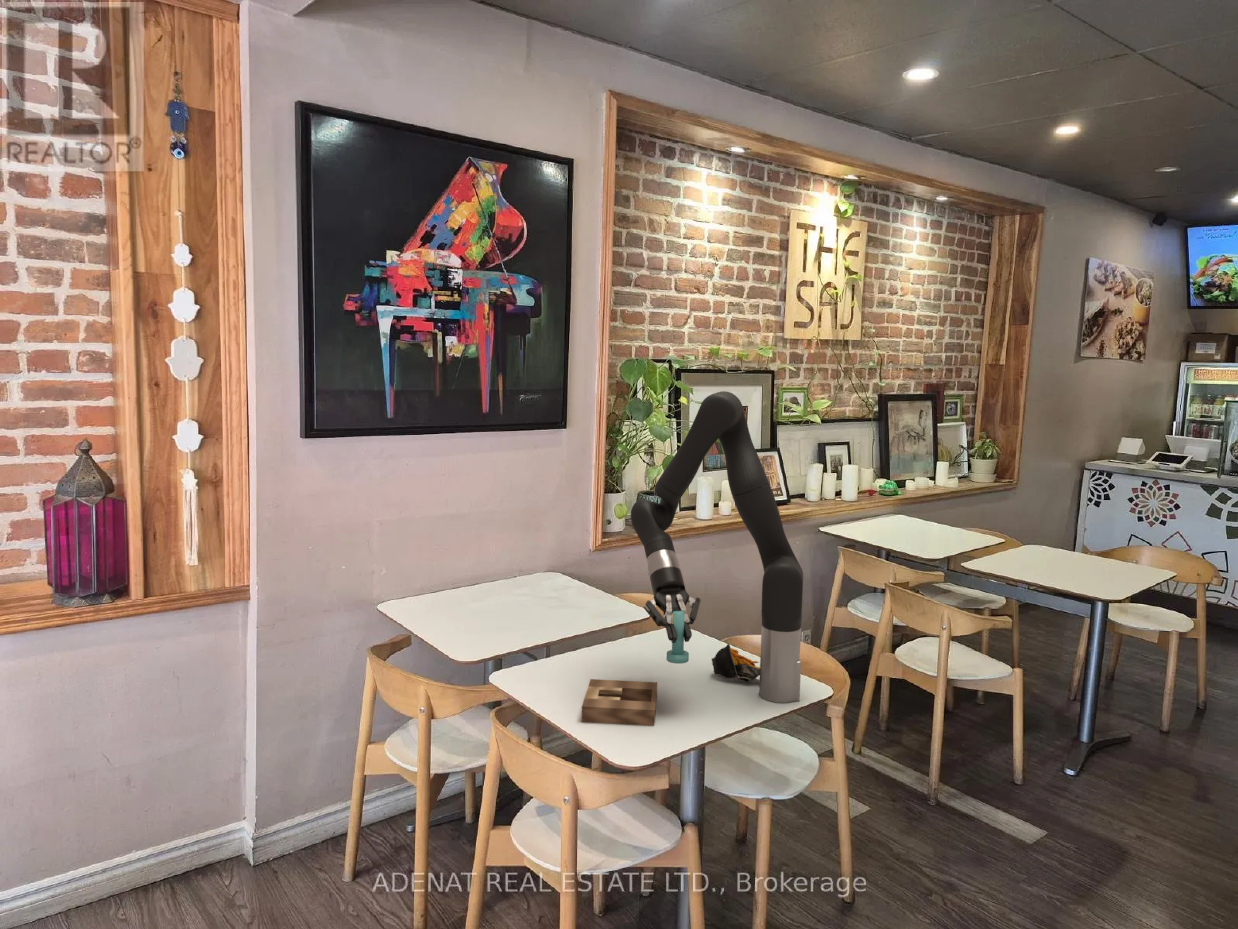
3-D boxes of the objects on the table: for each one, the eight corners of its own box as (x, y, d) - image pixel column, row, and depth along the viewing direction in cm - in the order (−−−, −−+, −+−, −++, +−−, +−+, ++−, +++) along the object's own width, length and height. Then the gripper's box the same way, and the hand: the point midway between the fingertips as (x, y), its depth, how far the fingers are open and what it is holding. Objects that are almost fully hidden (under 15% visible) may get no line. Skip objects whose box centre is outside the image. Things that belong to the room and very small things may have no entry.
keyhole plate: (657, 696, 195) (657, 682, 195) (654, 725, 180) (654, 710, 179) (590, 693, 197) (590, 679, 196) (581, 721, 181) (581, 706, 180)
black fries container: (708, 650, 214) (775, 631, 212) (721, 693, 211) (789, 674, 209) (705, 649, 205) (775, 629, 203) (718, 693, 202) (789, 673, 200)
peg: (688, 656, 188) (689, 609, 187) (688, 664, 183) (689, 616, 182) (666, 655, 188) (667, 608, 187) (666, 663, 183) (667, 615, 182)
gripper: (640, 566, 189) (655, 635, 178) (697, 563, 192) (715, 631, 182) (633, 583, 194) (647, 650, 184) (688, 580, 198) (705, 646, 188)
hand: (681, 640), depth 183 cm, fingers closed on peg, 2 cm apart
